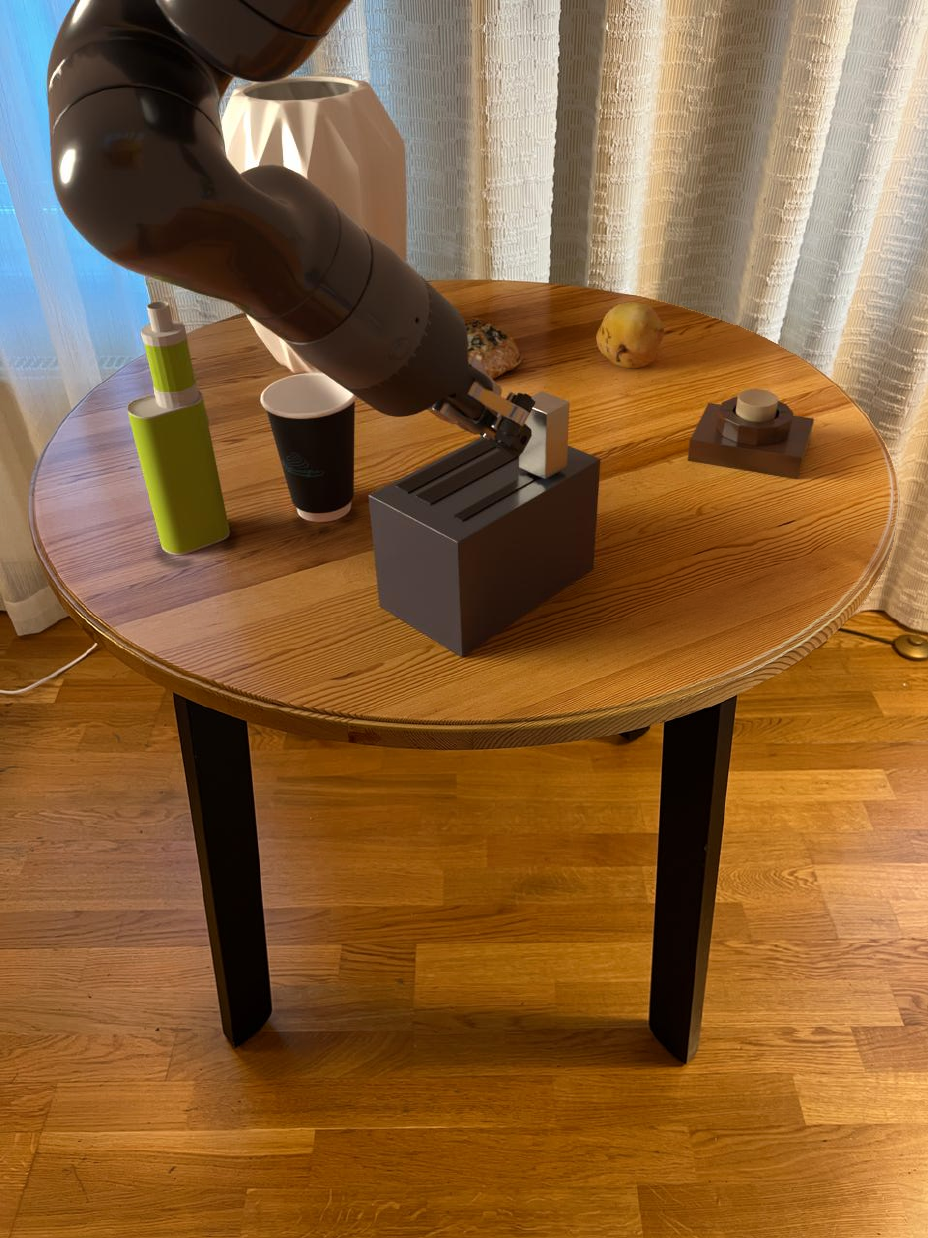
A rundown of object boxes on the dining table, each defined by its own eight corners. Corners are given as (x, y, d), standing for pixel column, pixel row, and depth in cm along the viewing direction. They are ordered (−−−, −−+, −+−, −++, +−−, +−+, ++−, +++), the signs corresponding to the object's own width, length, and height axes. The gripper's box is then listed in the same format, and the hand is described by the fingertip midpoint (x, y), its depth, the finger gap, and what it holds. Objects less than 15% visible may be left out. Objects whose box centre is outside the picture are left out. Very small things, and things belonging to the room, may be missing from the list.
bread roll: (451, 335, 119) (454, 294, 115) (536, 364, 115) (542, 323, 112) (401, 375, 111) (403, 334, 108) (491, 408, 108) (495, 366, 105)
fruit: (651, 336, 103) (686, 301, 110) (591, 309, 105) (629, 276, 112) (631, 393, 108) (665, 356, 115) (574, 366, 110) (611, 331, 117)
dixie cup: (281, 537, 87) (261, 419, 80) (277, 490, 93) (258, 377, 86) (374, 525, 88) (362, 408, 81) (363, 479, 94) (352, 367, 87)
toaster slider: (545, 479, 73) (547, 413, 70) (518, 467, 74) (518, 401, 71) (567, 467, 74) (569, 401, 71) (540, 455, 75) (541, 390, 72)
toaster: (462, 658, 73) (457, 541, 67) (379, 606, 78) (368, 493, 72) (593, 569, 82) (600, 457, 75) (511, 527, 87) (511, 419, 80)
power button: (778, 409, 95) (781, 392, 94) (771, 426, 92) (775, 408, 91) (739, 403, 96) (741, 386, 95) (731, 420, 93) (734, 402, 92)
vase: (215, 351, 118) (166, 87, 101) (359, 309, 126) (335, 60, 110) (298, 410, 105) (257, 120, 88) (451, 359, 114) (440, 87, 97)
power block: (810, 439, 97) (818, 400, 95) (797, 479, 92) (805, 439, 89) (705, 422, 101) (710, 385, 98) (687, 460, 95) (692, 421, 92)
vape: (238, 534, 87) (193, 305, 75) (172, 559, 84) (115, 326, 72) (219, 516, 89) (172, 291, 77) (154, 539, 87) (96, 310, 74)
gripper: (489, 291, 53) (620, 423, 67) (326, 237, 60) (475, 366, 74) (419, 420, 53) (564, 524, 67) (266, 350, 60) (426, 457, 75)
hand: (517, 441), depth 71 cm, fingers closed
